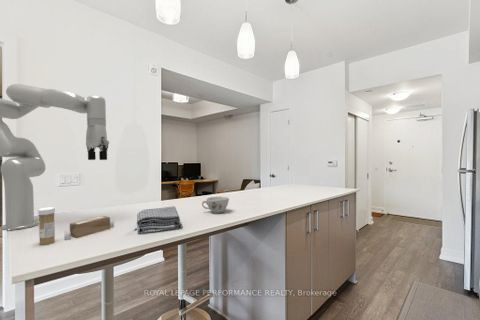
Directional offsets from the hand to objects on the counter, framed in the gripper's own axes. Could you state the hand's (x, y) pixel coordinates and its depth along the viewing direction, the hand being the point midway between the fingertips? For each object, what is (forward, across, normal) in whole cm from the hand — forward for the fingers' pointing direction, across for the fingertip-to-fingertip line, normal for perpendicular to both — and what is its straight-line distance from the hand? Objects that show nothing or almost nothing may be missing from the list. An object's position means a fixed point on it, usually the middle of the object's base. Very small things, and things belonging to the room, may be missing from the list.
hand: (97, 159), depth 111 cm
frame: (+29, +13, -10) cm, 34 cm away
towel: (+31, +29, +11) cm, 44 cm away
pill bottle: (+31, +11, -24) cm, 40 cm away
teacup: (+31, +35, +45) cm, 65 cm away
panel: (+30, +10, -10) cm, 33 cm away
